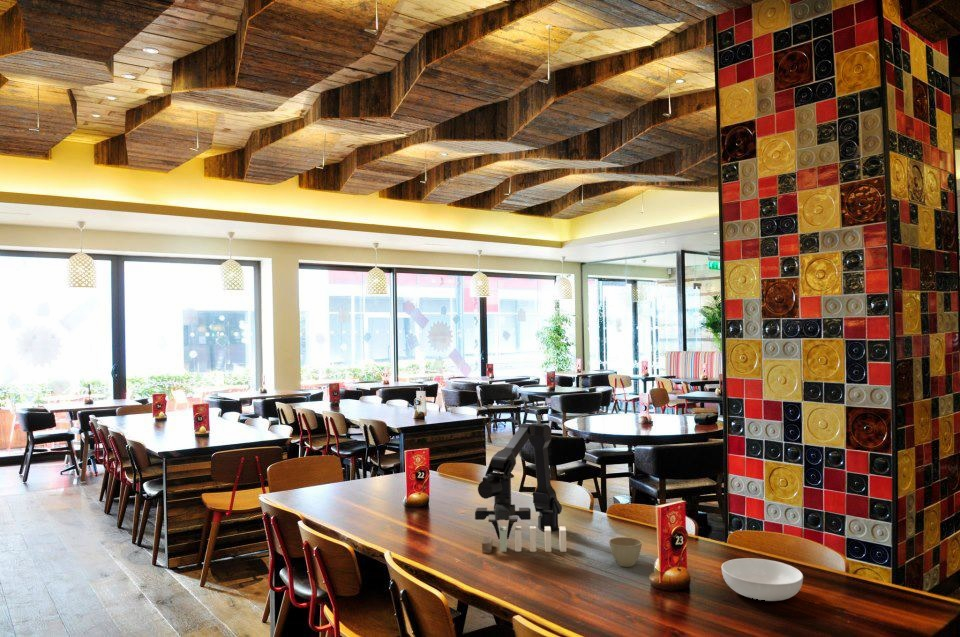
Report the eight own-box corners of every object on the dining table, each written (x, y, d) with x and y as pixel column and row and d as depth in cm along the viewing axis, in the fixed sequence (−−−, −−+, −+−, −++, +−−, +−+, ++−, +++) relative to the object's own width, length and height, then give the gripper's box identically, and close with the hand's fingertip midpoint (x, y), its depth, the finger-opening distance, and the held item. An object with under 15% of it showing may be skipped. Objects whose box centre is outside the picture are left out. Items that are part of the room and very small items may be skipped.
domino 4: (565, 547, 240) (565, 526, 240) (566, 551, 235) (566, 530, 235) (559, 547, 240) (559, 526, 240) (560, 551, 235) (559, 530, 235)
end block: (492, 545, 243) (492, 536, 243) (491, 552, 235) (491, 543, 235) (483, 545, 243) (483, 536, 243) (482, 552, 235) (482, 543, 235)
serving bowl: (762, 615, 180) (761, 588, 180) (705, 588, 199) (705, 564, 200) (821, 601, 189) (820, 575, 189) (761, 577, 208) (761, 553, 208)
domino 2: (536, 547, 241) (535, 526, 241) (536, 551, 236) (535, 530, 236) (530, 546, 241) (529, 526, 241) (530, 551, 236) (529, 530, 236)
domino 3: (550, 547, 240) (550, 526, 240) (551, 551, 235) (550, 530, 235) (544, 547, 240) (544, 526, 241) (545, 551, 235) (544, 530, 236)
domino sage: (506, 547, 241) (506, 526, 241) (506, 551, 236) (505, 530, 236) (500, 547, 241) (500, 526, 241) (500, 551, 236) (499, 530, 236)
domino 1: (521, 546, 241) (521, 526, 241) (521, 551, 236) (520, 530, 236) (515, 546, 241) (515, 526, 241) (515, 551, 236) (514, 530, 236)
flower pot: (643, 560, 224) (643, 538, 225) (640, 571, 215) (639, 547, 215) (612, 558, 228) (611, 535, 228) (607, 567, 218) (606, 544, 218)
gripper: (473, 498, 232) (474, 546, 232) (530, 498, 231) (531, 546, 230) (475, 490, 243) (476, 536, 243) (530, 490, 242) (531, 536, 241)
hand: (503, 539), depth 239 cm, fingers closed
